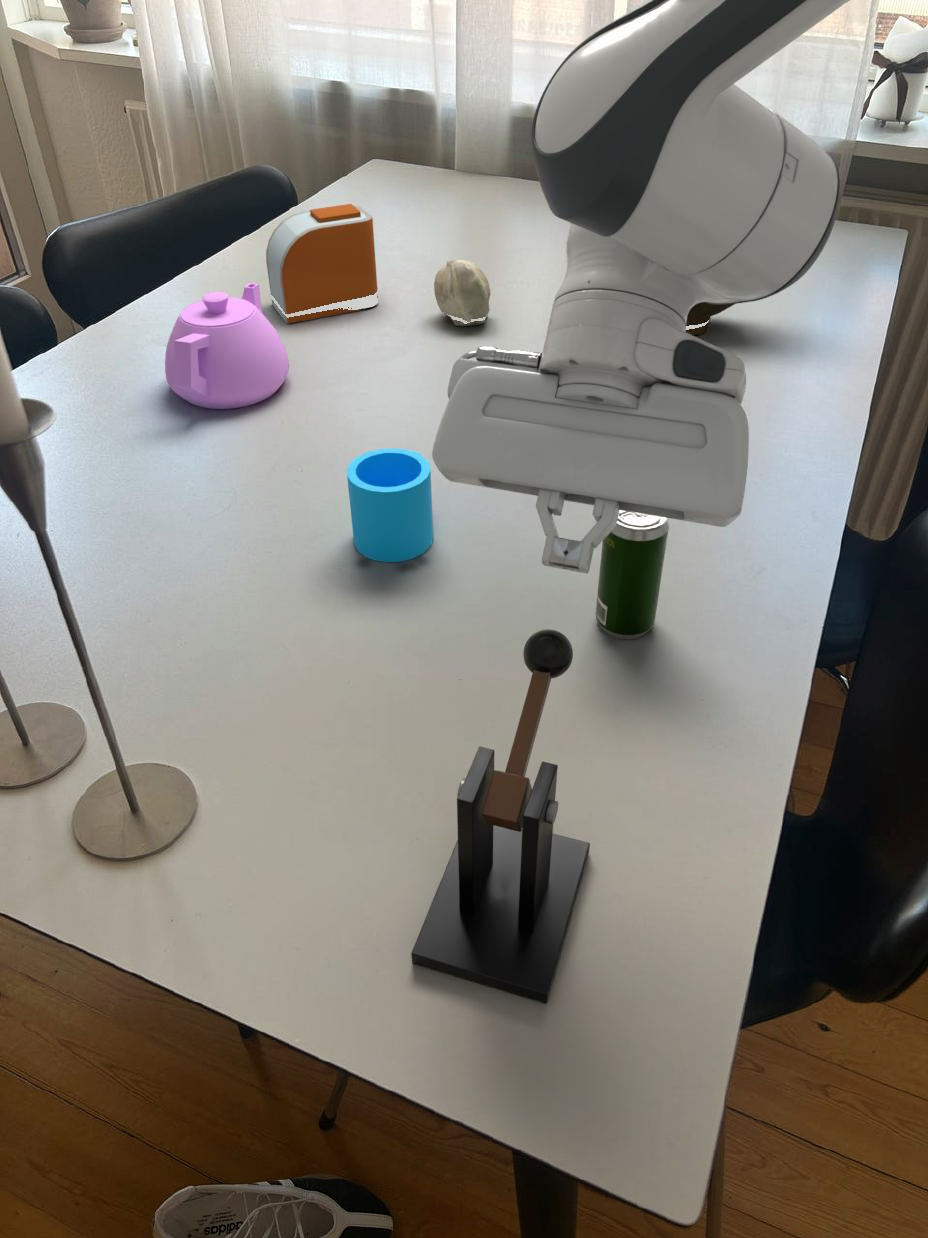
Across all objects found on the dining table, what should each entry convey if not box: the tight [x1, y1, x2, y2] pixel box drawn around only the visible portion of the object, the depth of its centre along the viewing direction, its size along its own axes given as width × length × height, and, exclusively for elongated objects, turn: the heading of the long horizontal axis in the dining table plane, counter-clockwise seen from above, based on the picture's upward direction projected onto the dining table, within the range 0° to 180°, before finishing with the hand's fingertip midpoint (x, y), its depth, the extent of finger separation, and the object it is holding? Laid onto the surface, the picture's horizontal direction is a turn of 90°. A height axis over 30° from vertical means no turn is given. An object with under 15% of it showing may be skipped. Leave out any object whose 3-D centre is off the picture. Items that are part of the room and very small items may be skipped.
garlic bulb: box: [433, 258, 491, 327], centre depth 138 cm, size 9×8×10 cm
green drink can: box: [595, 510, 670, 640], centre depth 84 cm, size 5×5×12 cm
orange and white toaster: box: [265, 203, 378, 325], centre depth 142 cm, size 15×8×14 cm, turn 115°
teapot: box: [164, 282, 290, 410], centre depth 122 cm, size 22×16×12 cm
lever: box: [482, 628, 574, 832], centre depth 60 cm, size 13×3×3 cm, turn 162°
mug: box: [346, 447, 434, 563], centre depth 98 cm, size 12×8×8 cm
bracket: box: [410, 746, 591, 1005], centre depth 61 cm, size 12×9×13 cm
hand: (564, 568), depth 62 cm, fingers closed
